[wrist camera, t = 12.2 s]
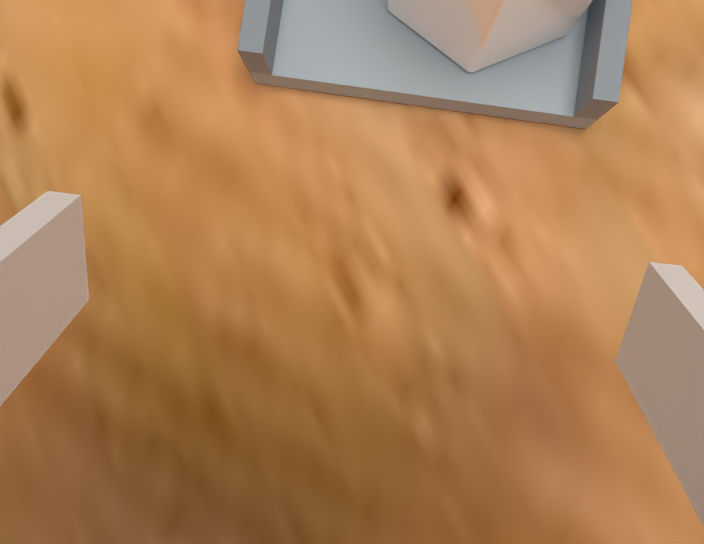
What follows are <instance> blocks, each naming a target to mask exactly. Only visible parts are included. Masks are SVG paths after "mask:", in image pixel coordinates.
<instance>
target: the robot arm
mask: <svg viewBox="0 0 704 544" xmlns="http://www.w3.org/2000/svg"><path fill="white" fill-rule="evenodd" d="M88 301H89V290H88V278H87V265H86V253H85V240H84V228H83V215H82V203H81V195H76V194H68V193H59V192H51V191H47V192H46V193H44V194H43V195H42V196H40V197H39V198H38V199H36V200H35V201H34V202H32V203H31V204H30V205H28V206H27V207H25V208H24V209H23V210H21V211H20V212H19V213H17V214H16V215H15V216H13V217H12V218H11V219H9V220H8V221H6V222H5V223H4V224H2V225H1V226H0V406H1V405H2V404H3V403H4V402H5V400H6V399H7V398H8V397H9V396H10V394H11V393H12V392H13V391H14V390H15V388H16V387H17V386H18V385H19V384H20V382H21V381H22V380H23V379H24V378H25V376H26V375H27V374H28V373H29V372H30V370H31V369H32V368H33V367H34V366H35V364H36V363H37V362H38V361H39V360H40V358H41V357H42V356H43V355H44V353H45V352H46V351H47V350H48V349H49V347H50V346H51V345H52V344H53V343H54V341H55V340H56V339H57V338H58V337H59V335H60V334H61V333H62V332H63V331H64V329H65V328H66V327H67V326H68V325H69V323H70V322H71V321H72V320H73V319H74V317H75V316H76V315H77V314H78V313H79V311H80V310H81V309H82V308H83V307H84V305H85V304H86V303H87V302H88ZM615 362H616V364H617V365H618V367H619V369H620V371H621V373H622V375H623V377H624V379H625V380H626V382H627V384H628V386H629V388H630V390H631V392H632V394H633V395H634V397H635V399H636V401H637V403H638V405H639V407H640V409H641V410H642V412H643V414H644V416H645V418H646V420H647V422H648V424H649V425H650V427H651V429H652V431H653V433H654V435H655V437H656V439H657V440H658V442H659V444H660V446H661V448H662V450H663V452H664V453H665V455H666V457H667V459H668V461H669V463H670V465H671V467H672V468H673V470H674V472H675V474H676V476H677V478H678V480H679V482H680V483H681V485H682V487H683V489H684V491H685V493H686V495H687V497H688V498H689V500H690V502H691V504H692V506H693V508H694V510H695V512H696V513H697V515H698V517H699V519H700V521H701V523H702V525H703V527H704V290H703V289H702V287H701V286H700V285H699V284H698V283H697V282H696V281H695V280H694V278H693V277H692V276H691V275H690V274H689V273H688V272H687V271H686V270H685V268H684V267H683V266H679V265H671V264H662V263H654V262H649V264H648V267H647V270H646V273H645V276H644V278H643V281H642V284H641V287H640V290H639V293H638V296H637V299H636V302H635V305H634V308H633V311H632V314H631V317H630V320H629V323H628V326H627V329H626V331H625V334H624V337H623V340H622V343H621V346H620V349H619V352H618V355H617V358H616V361H615Z"/></svg>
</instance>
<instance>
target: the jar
mask: <svg viewBox="0 0 704 544" xmlns="http://www.w3.org/2000/svg"><path fill="white" fill-rule="evenodd" d="M592 1H593V0H387V9H388V11H389V12H390V13H392V14H393V15H394V16H395V17H397V18H398V19H399V20H401V21H402V22H403V23H405V24H406V25H407V26H409V27H410V28H411V29H412V30H414V31H415V32H416V33H418V34H419V35H420V36H422V37H423V38H424V39H426V40H427V41H428V42H429V43H431V44H432V45H433V46H435V47H436V48H437V49H439V50H440V51H441V52H443V53H444V54H445V55H446V56H448V57H449V58H450V59H452V60H453V61H454V62H456V63H457V64H458V65H459V66H461V67H462V68H463V69H465V70H466V71H467V72H470V73H471V72H475V71H478V70H480V69H483V68H485V67H488V66H490V65H493V64H495V63H498V62H500V61H503V60H505V59H508V58H510V57H513V56H515V55H518V54H520V53H523V52H526V51H528V50H531V49H533V48H536V47H538V46H541V45H543V44H546V43H548V42H551V41H553V40H556V39H558V38H561V37H563V36H566V35H567V34H569V33H570V31H571V30H572V29H573V27H574V26H575V24H576V23H577V22H578V20H579V19H580V18H581V16H582V15H583V14H584V12H585V11H586V9H587V8H588V7H589V5H590V4H591V3H592Z"/></svg>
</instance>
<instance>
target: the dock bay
mask: <svg viewBox="0 0 704 544" xmlns="http://www.w3.org/2000/svg"><path fill="white" fill-rule="evenodd" d="M631 7H632V0H593V1H592V3H591V4H590V5H589V7H588V8H587V9H586V11H585V12H584V14H583V15H582V16H581V18H580V19H579V20H578V22H577V23H576V24H575V26H574V27H573V29H572V30H571V31H570V33H569V34H567V35H566V36H563V37H561V38H558V39H556V40H553V41H551V42H548V43H546V44H543V45H541V46H538V47H536V48H533V49H531V50H528V51H526V52H523V53H520V54H518V55H515V56H513V57H510V58H508V59H505V60H503V61H500V62H498V63H495V64H493V65H490V66H488V67H485V68H483V69H480V70H478V71H475V72H471V73H470V72H467V71H466V70H465V69H463V68H462V67H461V66H459V65H458V64H457V63H456V62H454V61H453V60H452V59H450V58H449V57H448V56H446V55H445V54H444V53H443V52H441V51H440V50H439V49H437V48H436V47H435V46H433V45H432V44H431V43H429V42H428V41H427V40H426V39H424V38H423V37H422V36H420V35H419V34H418V33H416V32H415V31H414V30H412V29H411V28H410V27H409V26H407V25H406V24H405V23H403V22H402V21H401V20H399V19H398V18H397V17H395V16H394V15H393V14H392V13H390V12H389V11H388V9H387V0H245V6H244V12H243V18H242V25H241V31H240V37H239V44H238V52H239V54H240V56H241V58H242V60H243V61H244V63H245V65H246V67H247V69H248V71H249V73H250V74H251V76H252V78H253V80H254V82H255V83H257V84H265V85H272V86H279V87H286V88H293V89H301V90H308V91H315V92H322V93H329V94H337V95H344V96H351V97H358V98H366V99H373V100H380V101H387V102H394V103H402V104H409V105H416V106H423V107H430V108H438V109H445V110H452V111H459V112H466V113H474V114H481V115H488V116H495V117H503V118H510V119H517V120H524V121H531V122H539V123H546V124H553V125H560V126H567V127H575V128H582V129H586V128H588V127H589V126H590V125H591V124H593V123H594V122H595V121H596V120H598V119H599V118H600V117H601V116H602V115H604V114H605V113H606V112H607V111H609V110H610V109H611V108H612V107H614V106H615V105H616V104H617V103H618V102H619V96H620V88H621V81H622V74H623V66H624V59H625V52H626V44H627V37H628V29H629V22H630V15H631Z"/></svg>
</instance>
